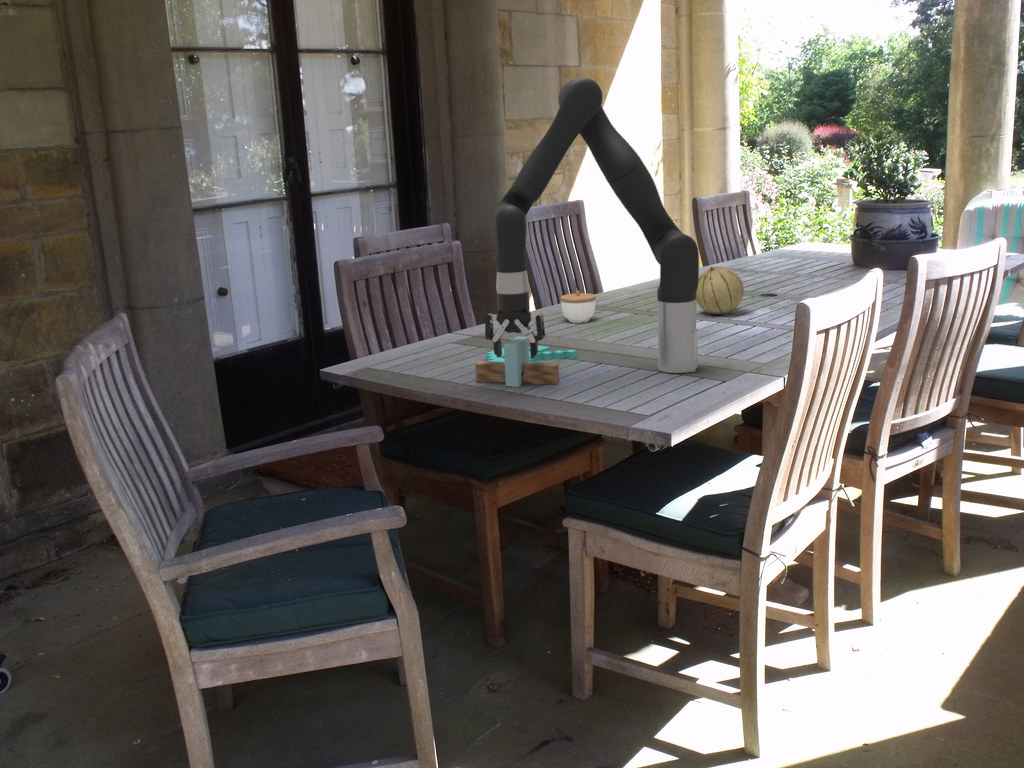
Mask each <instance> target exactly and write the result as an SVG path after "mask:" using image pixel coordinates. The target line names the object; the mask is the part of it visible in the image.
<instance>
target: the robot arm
mask: <svg viewBox="0 0 1024 768" xmlns="http://www.w3.org/2000/svg"><path fill="white" fill-rule="evenodd" d="M557 98H558V105H559V108H558V110H557V113H556V115H555V117H554V119H553V120H552V123H551V124H550V126H549V128H548V130H547V131H546V133H545V134H544V136H543V137H542V138H541V140H539V142H538V144H537V145H536V146H535V148H534V149H533V150H532V151H531V153H530V155H529V156H528V158H527V159H526V160H525V162H524V164H523V166H522V167H521V169H520V170H519V172H518V174H517V176H516V177H515V180H514V181H513V182H512V186H511V187H510V188H509V189H508V191H507V192H505V195H503V197H502V199H501V201H499V203H498V205H497V207H496V208H495V210H494V212H493V216H492V223H493V225H494V227H495V230H496V242H497V243H496V244H497V249H496V250H495V251H496V252H495V262H496V286H495V290H496V300H497V314H494V313H491V312H490V313H488V314H486V315H485V316H484V321H485V322H484V324H485V325H484V328H485V332H484V335H485V337H484V338H485V339H486V340H489V341H492V343H493V351H494V354H495V355H497V357H501V356H502V348H503V346H502V340H501V339H502V337H503V335H504V334H505V333H507V334H508V333H509V334H511V333H515V334H521V333H523V335H524V337H528V339H529V341H530V343H529V347H530V354H531V358H535V357H536V355H537V354H538V346H539V341H542V340H543V339H545V337H546V330H545V321H544V314H543V313H538V314H531V311H530V310H531V309H530V289H529V288H530V287H529V277H528V276H529V275H528V271H527V253H526V243H527V242H526V238H527V237H526V236H527V220H526V216H527V214H528V213H529V211H530V209H532V207H533V204H534V203H535V202H537V201H538V200H539V199H540V198H541V196H542V195H543V193H544V191H545V190H546V188H547V187H548V185H549V183H550V182H551V179H552V178H553V176H554V175H555V173H556V171H557V169H558V168H559V166H560V164H561V162H562V161H563V158H564V157H565V156H566V153H567V152H568V150H569V149H570V147H571V146H572V144H573V142H575V140H576V138H577V137H578V136H579V135H580V136H581V138H582V139H583V141H584V142H585V143H586V145H587V147H588V148H589V151H590V152H591V155H592V156H593V158H594V160H595V162H596V164H597V166H598V168H599V169H600V172H602V175H603V176H604V178H605V180H606V182H607V183H608V184H609V186H610V188H611V189H612V191H613V193H614V194H615V195H616V197H617V199H618V200H619V201H620V203H621V204H622V205H623V207H624V209H625V210H626V212H628V214H629V215H630V216H631V218H633V220H634V221H635V222H636V224H637V225H638V228H639V229H640V230H641V233H642V234H643V236H644V239H646V242H647V243H648V244H647V245H648V246H649V247H650V248H649V249H650V250H651V252H652V254H653V257H654V258H655V260H656V262H657V264H659V265H660V266H659V269H660V270H659V271H660V272H659V275H660V276H659V286H658V288H657V293H656V294H657V295H656V296H657V297H656V298H657V299H656V300H657V302H656V305H657V308H656V309H657V358H658V359H657V365H658V366H657V367H658V368H657V369H658V371H660V372H663V373H669V374H683V373H684V374H686V373H695V372H696V370H697V368H698V366H699V340H698V339H699V338H698V337H699V335H698V333H699V331H698V328H697V301H696V291H697V288H698V281H699V276H700V273H699V272H700V270H699V269H700V267H699V266H700V253H699V247H698V243H696V241H695V240H694V239H693V238H692V237H691V236H690V235H687V234H686V233H684V232H682V231H681V229H680V228H679V227H678V226H677V225H676V223H675V222H674V220H673V219H672V218H671V216H670V215H669V213H668V212H667V211H666V209H665V207H664V205H663V203H662V200H661V196H660V194H659V193H660V192H659V191H658V188H657V185H656V183H655V180H654V179H653V177H652V174H651V173H650V171H649V169H648V168H647V167H646V165H645V163H644V162H643V160H642V159H641V157H640V155H639V154H638V153H637V152H636V150H635V149H634V148H633V147H632V146H631V145H630V143H629V142H628V141H627V140H626V139H625V138H624V137H623V136H622V135H621V134H620V132H618V131H617V129H616V127H614V125H613V124H612V122H611V121H610V119H609V118H608V115H607V114H606V112H605V110H604V107H603V106H602V104H603V91H602V89H601V87H600V85H599V84H598V83H597V81H595V80H593V79H591V78H589V77H577V78H574V79H571V80H569V81H566V82H565V83H564V84H563V85H562V87H561V88H560V90H559V93H558V97H557ZM531 321H533V324H535V325H536V326H535V327H536V333H535V332H534V328H532V326H531V325H530V322H531ZM496 322H498V324H499V325H500V326H499V328H498V330H497V331H496V333H495V334H494V323H496Z"/></svg>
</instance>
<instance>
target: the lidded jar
mask: <svg viewBox="0 0 1024 768" xmlns="http://www.w3.org/2000/svg"><path fill="white" fill-rule="evenodd" d="M596 300H597V297H596V294H593V293H585V292H584V293H583V292H582V293H581V291H580V290H576V291H575V293H568V294H564V295H561V296H560V303H561V304H560V305H561V311H562V314H563V315H564V317H565V318H566V319H567V320H568V322H569V323H571V322H572V323H571V324H583V322H584V323H588V322H589V320H590V319H591V318H592V317H593V316H594V314H595V310H596Z"/></svg>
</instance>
